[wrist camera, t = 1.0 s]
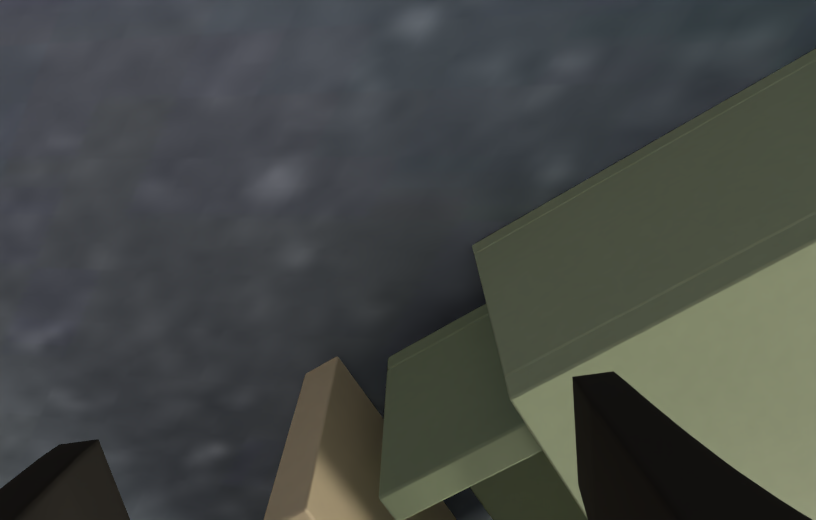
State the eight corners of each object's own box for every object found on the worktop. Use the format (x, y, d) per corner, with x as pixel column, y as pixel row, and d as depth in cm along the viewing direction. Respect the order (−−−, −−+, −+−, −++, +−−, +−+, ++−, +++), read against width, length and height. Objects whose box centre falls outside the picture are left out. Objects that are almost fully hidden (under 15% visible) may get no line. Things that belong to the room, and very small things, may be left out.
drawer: (388, 667, 25) (380, 892, 19) (193, 435, 22) (103, 612, 16) (868, 448, 22) (1055, 630, 16) (723, 137, 19) (885, 206, 12)
